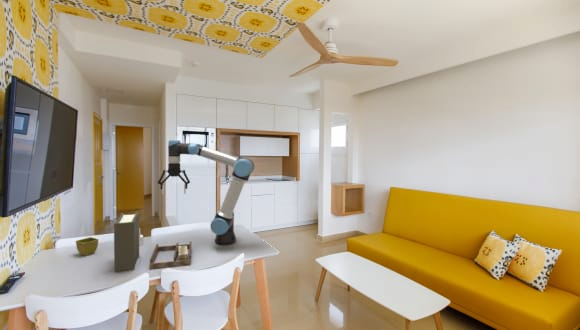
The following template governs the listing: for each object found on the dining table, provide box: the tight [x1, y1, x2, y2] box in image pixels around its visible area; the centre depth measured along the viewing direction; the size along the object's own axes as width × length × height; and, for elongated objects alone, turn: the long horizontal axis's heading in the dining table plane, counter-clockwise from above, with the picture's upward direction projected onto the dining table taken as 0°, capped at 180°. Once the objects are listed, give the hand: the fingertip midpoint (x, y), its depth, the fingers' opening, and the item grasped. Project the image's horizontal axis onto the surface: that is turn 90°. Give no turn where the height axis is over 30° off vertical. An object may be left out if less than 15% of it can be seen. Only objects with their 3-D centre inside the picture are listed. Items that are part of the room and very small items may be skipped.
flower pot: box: [75, 236, 99, 256], centre depth 168 cm, size 9×9×9 cm
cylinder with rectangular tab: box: [139, 227, 144, 248], centre depth 186 cm, size 9×9×12 cm
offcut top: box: [178, 245, 189, 259], centre depth 165 cm, size 5×16×2 cm, turn 23°
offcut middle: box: [177, 254, 188, 261], centre depth 165 cm, size 5×16×2 cm, turn 20°
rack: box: [149, 241, 192, 270], centre depth 163 cm, size 21×28×6 cm
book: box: [113, 211, 140, 273], centre depth 155 cm, size 22×9×28 cm, turn 23°
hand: (174, 193), depth 183 cm, fingers open, 13 cm apart
